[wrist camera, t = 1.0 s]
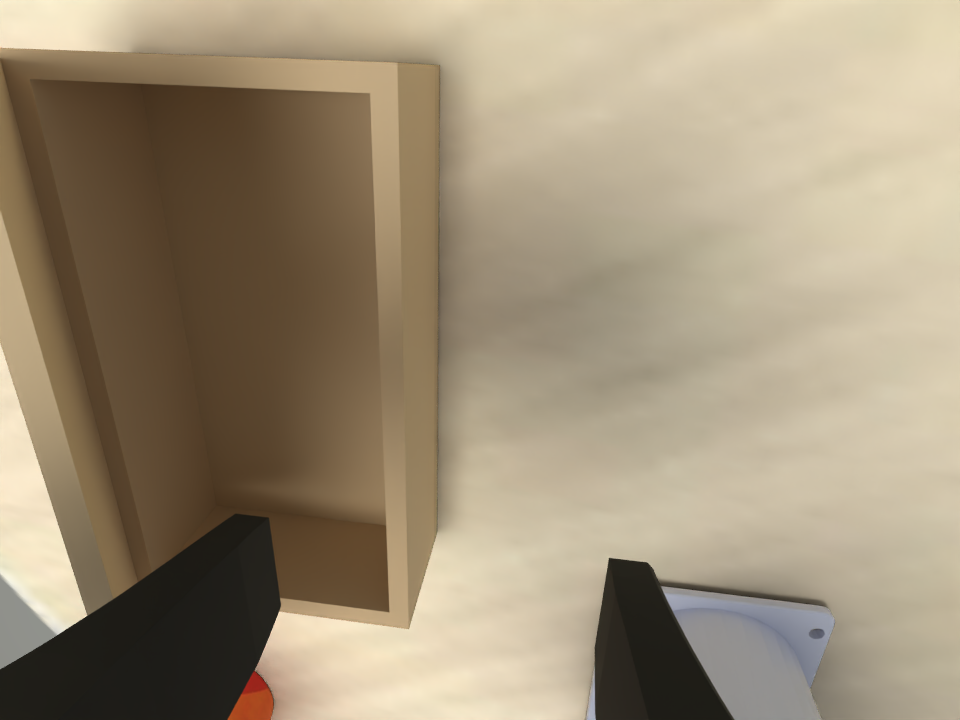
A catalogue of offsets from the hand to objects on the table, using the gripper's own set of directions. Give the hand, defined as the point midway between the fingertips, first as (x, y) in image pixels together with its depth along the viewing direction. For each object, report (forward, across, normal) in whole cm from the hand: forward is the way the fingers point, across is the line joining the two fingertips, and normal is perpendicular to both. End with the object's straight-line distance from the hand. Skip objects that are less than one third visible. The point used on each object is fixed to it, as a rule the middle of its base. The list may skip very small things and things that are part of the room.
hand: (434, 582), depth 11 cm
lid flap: (+2, +8, 0) cm, 8 cm away
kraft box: (+10, +6, 0) cm, 12 cm away
